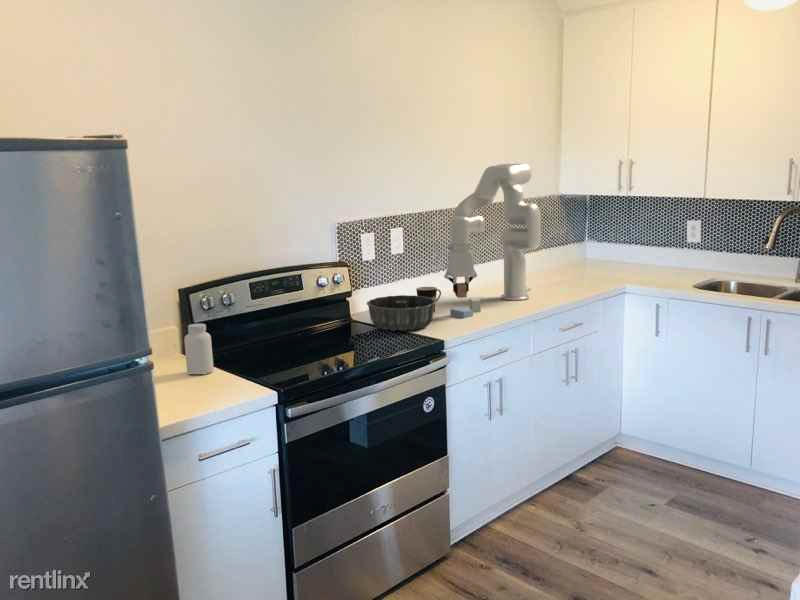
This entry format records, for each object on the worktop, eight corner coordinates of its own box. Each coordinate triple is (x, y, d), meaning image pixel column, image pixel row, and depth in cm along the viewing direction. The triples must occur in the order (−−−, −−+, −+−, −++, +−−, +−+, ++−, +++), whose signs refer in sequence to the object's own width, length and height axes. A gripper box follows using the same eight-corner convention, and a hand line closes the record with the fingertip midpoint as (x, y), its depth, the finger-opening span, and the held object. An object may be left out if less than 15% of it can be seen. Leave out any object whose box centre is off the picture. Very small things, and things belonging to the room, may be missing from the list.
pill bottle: (216, 368, 230) (212, 321, 227) (210, 375, 222) (206, 327, 219) (190, 369, 230) (186, 322, 227) (184, 376, 222) (179, 328, 219)
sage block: (469, 309, 307) (469, 298, 306) (477, 309, 307) (477, 297, 306) (472, 312, 301) (472, 300, 300) (480, 312, 301) (480, 300, 300)
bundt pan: (451, 325, 279) (450, 299, 277) (401, 338, 261) (401, 310, 259) (402, 316, 298) (402, 292, 296) (353, 328, 280) (352, 302, 278)
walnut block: (455, 295, 296) (455, 283, 295) (464, 294, 296) (463, 282, 295) (457, 297, 290) (457, 285, 289) (466, 297, 290) (466, 284, 289)
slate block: (450, 316, 296) (450, 309, 296) (459, 314, 299) (459, 307, 299) (464, 319, 290) (463, 311, 290) (473, 317, 293) (472, 309, 293)
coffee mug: (420, 314, 300) (419, 290, 298) (414, 311, 308) (413, 287, 306) (447, 312, 303) (446, 288, 301) (440, 308, 311) (440, 285, 309)
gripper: (441, 249, 285) (441, 296, 289) (482, 248, 287) (483, 294, 290) (438, 247, 293) (439, 292, 296) (478, 246, 294) (479, 291, 297)
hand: (460, 293), depth 293 cm, fingers closed on walnut block, 3 cm apart
